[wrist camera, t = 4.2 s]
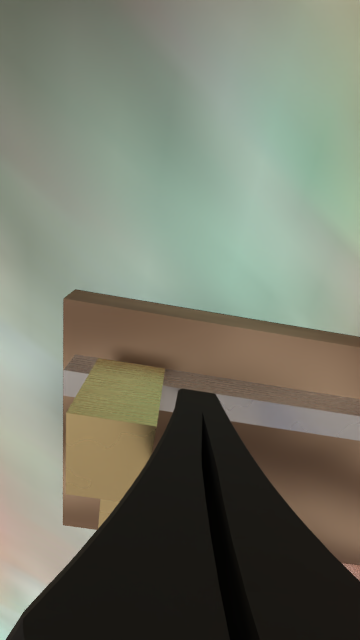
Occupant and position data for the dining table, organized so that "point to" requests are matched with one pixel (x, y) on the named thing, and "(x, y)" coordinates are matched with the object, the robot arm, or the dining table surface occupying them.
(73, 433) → the block
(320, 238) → the dining table surface
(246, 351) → the slide rail board
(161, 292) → the dining table surface
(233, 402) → the trammel
